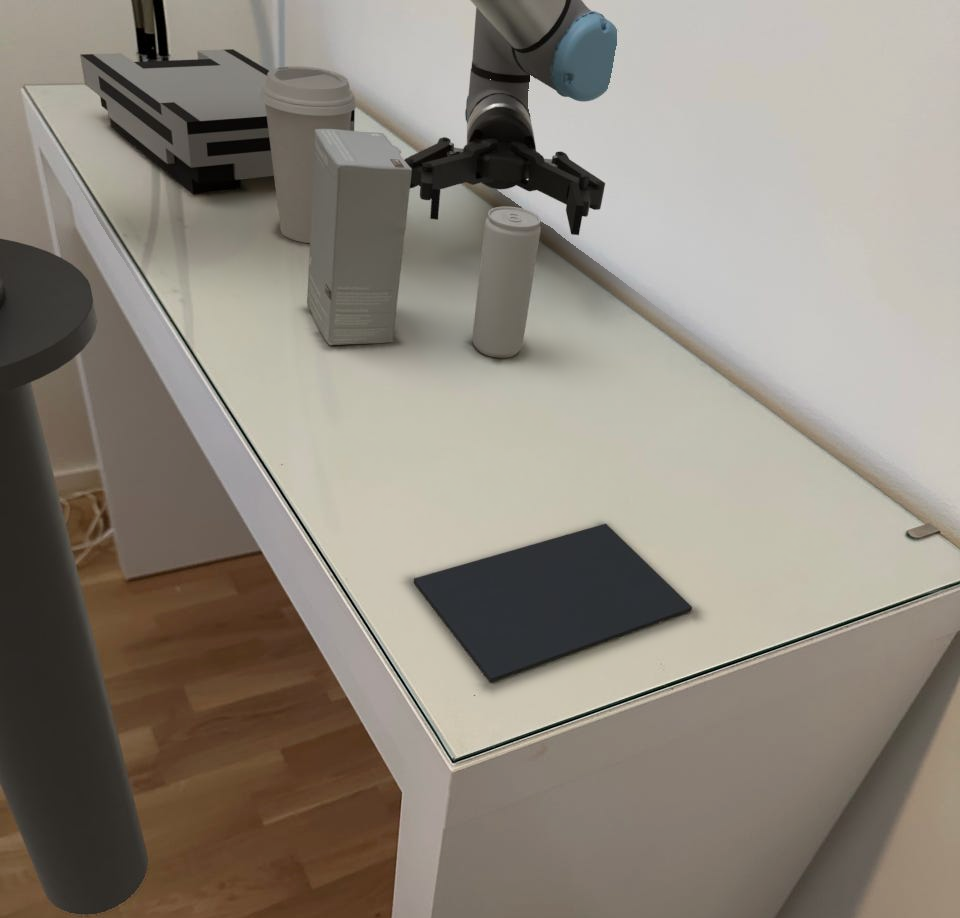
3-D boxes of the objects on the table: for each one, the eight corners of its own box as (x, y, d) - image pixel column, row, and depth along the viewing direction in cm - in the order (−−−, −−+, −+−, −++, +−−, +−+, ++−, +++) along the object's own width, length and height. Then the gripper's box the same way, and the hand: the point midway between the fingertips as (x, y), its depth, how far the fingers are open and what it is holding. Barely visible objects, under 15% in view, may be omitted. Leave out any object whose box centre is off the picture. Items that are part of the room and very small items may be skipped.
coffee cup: (334, 212, 106) (335, 63, 96) (367, 245, 100) (372, 91, 90) (254, 218, 102) (245, 63, 92) (283, 252, 96) (278, 92, 86)
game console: (236, 106, 131) (232, 38, 125) (353, 183, 114) (354, 109, 108) (90, 115, 120) (78, 43, 115) (194, 202, 104) (186, 122, 98)
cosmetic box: (305, 307, 88) (302, 125, 77) (377, 304, 90) (384, 127, 79) (327, 349, 82) (328, 160, 71) (403, 344, 85) (415, 160, 74)
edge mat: (413, 582, 61) (413, 578, 61) (604, 527, 68) (605, 523, 68) (490, 683, 55) (491, 678, 55) (691, 611, 62) (692, 607, 62)
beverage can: (471, 357, 84) (487, 223, 76) (470, 333, 88) (485, 203, 80) (523, 362, 85) (544, 229, 77) (520, 338, 88) (539, 209, 80)
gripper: (603, 191, 106) (627, 265, 90) (386, 166, 103) (373, 238, 88) (617, 119, 100) (645, 185, 85) (389, 91, 98) (375, 154, 83)
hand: (506, 212), depth 87 cm, fingers open, 13 cm apart
